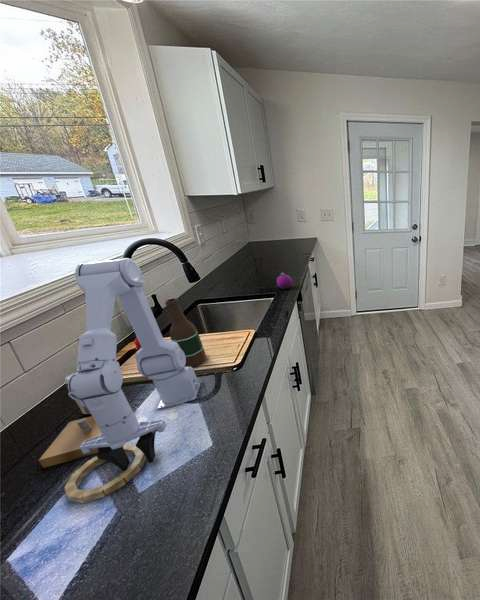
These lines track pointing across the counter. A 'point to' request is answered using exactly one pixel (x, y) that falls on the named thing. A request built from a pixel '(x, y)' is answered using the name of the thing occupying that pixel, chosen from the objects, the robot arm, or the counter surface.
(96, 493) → the hoop
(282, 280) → the christmas ornament
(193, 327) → the beer bottle
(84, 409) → the small jar
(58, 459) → the stand
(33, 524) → the counter surface
